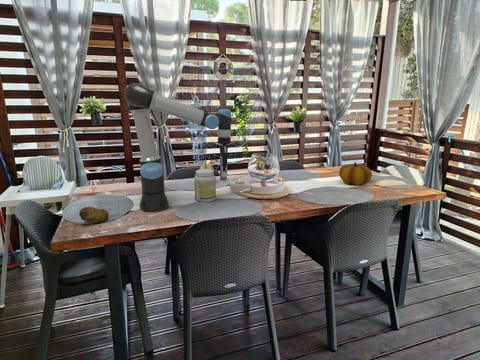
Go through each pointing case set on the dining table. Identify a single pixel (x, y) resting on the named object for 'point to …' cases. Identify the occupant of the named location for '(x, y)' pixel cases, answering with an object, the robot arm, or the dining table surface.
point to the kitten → (207, 166)
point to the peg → (221, 173)
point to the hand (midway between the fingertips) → (223, 175)
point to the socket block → (239, 185)
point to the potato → (93, 214)
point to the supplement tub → (205, 185)
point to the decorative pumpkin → (355, 174)
